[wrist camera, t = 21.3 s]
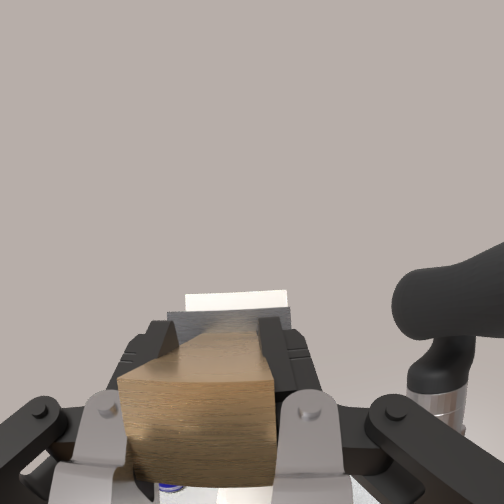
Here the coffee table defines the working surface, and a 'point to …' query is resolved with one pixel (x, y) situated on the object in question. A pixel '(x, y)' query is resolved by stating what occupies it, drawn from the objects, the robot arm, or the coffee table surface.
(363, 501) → the coffee table surface
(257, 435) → the hammer
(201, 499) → the coffee table surface
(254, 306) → the stand
